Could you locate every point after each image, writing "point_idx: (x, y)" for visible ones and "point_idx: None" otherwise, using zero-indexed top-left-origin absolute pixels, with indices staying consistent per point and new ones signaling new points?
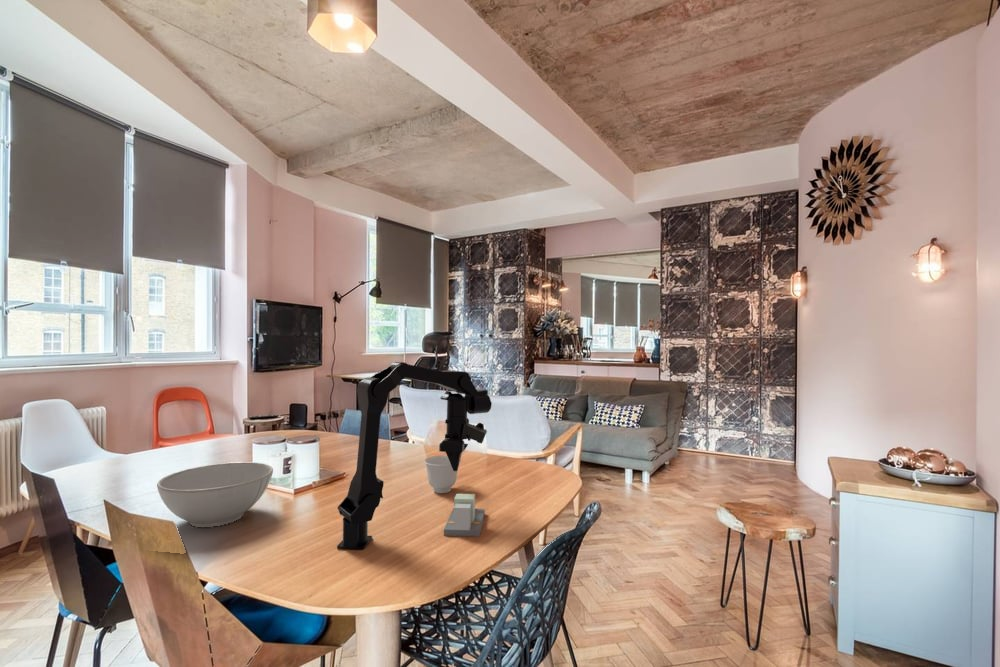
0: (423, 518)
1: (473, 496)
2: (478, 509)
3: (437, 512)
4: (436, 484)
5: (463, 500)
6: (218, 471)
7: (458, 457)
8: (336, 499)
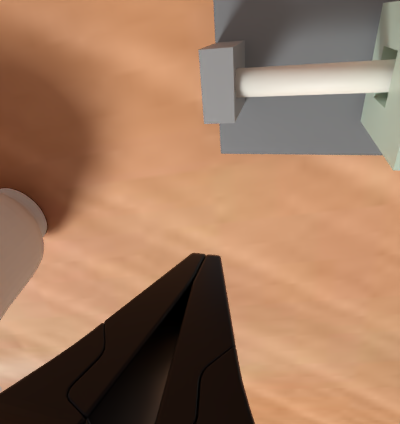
0: (285, 242)
1: None
2: (228, 11)
3: (222, 205)
4: (39, 250)
5: None
6: None
7: (248, 408)
8: None
